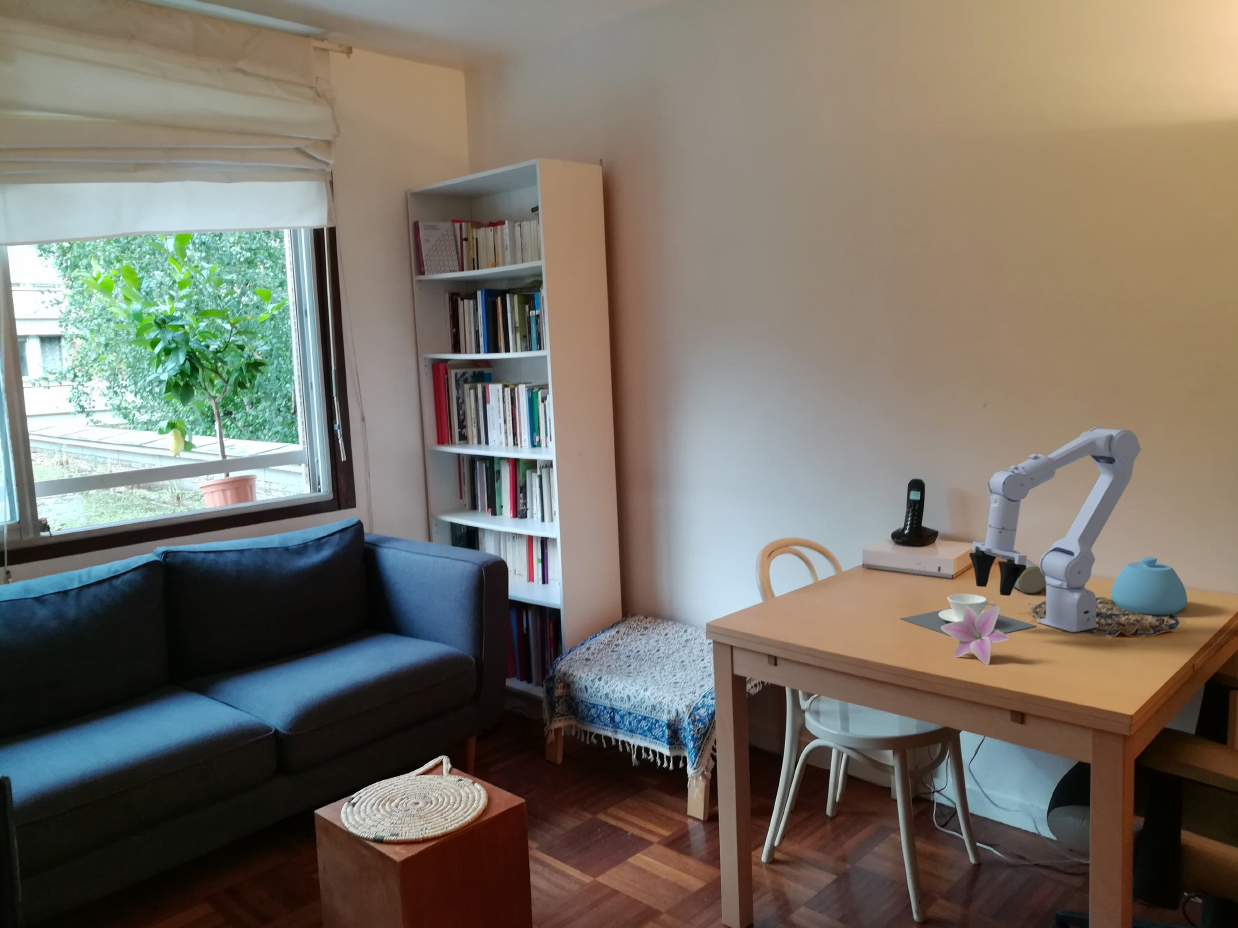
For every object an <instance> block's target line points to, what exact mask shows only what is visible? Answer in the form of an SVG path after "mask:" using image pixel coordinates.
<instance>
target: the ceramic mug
mask: <svg viewBox="0 0 1238 928" xmlns="http://www.w3.org/2000/svg"><path fill="white" fill-rule="evenodd" d="M1025 565H1026V569H1025V570H1024V571H1023V573H1022V574H1021V575H1020V577H1019V578H1018V580H1017V581H1016V583H1015V585H1014V588H1015V589H1017V590H1019V591H1021V592H1023V593H1026V594H1028V595H1029V594H1031V595H1032V594H1036V593H1039V592H1040V591H1042V590H1043V589H1045V590H1046V581H1045V576H1044V575H1043V574H1042V573H1041V571H1040V568H1039V565H1037V564H1035V563H1034V562H1032V561H1031V560H1030V559H1028V558H1026V564H1025Z"/></svg>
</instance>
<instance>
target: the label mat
mask: <svg viewBox="0 0 1238 928" xmlns="http://www.w3.org/2000/svg"><path fill="white" fill-rule="evenodd" d="M947 609H948V608H945V609H940V610H935V611H930V612H925V613H921V614H916V615H911V616H905V617H901V618H900V620H902V621H905V622H908V623H911V624H914V625H917V626H919V627H922V628H926V629H929V630H931V631H935V632H937V633H940V634H943V635H946V636H949V637H951V636H950V635H948V634H947V633H945V632H944V631H942V630H941V626H943V625H945V624H949V623H952V622H951V621H947V620H944V619H942V618H941V617H939V615H938V614H939V612H941V611H943V610H947ZM949 609H952V608H951V607H950V608H949ZM983 611H986V609H983ZM1035 627H1037V625H1035V624H1032V623H1029V622H1025V621H1022V620H1018V619H1014V618H1013V617H1008V616H1005V615H1001V614H998V617H997V620H996V623H995V626H994V629H997V630H999V631H1001V632H1002V633H1004V634H1005V635H1006V634H1008V633H1013V632H1018V631H1022V630H1026V629H1031V628H1032V629H1033V628H1035Z"/></svg>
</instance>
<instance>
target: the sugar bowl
mask: <svg viewBox="0 0 1238 928" xmlns="http://www.w3.org/2000/svg"><path fill="white" fill-rule="evenodd" d="M1110 593H1111V595H1110V597H1111V599H1112V601H1113V602H1114V603H1115V605H1116V606H1117V607H1118V608H1119V607H1120V608H1119V609H1121V608H1122V610H1123V609H1124V611H1126V610H1128V611H1127V612H1130V611H1132V612H1131V613H1134V612H1137V613H1136V614H1140V613H1144V614H1143V615H1149V614H1151V615H1153V616H1167V615H1174V614H1177V613H1179V612H1181V611H1182V610H1183V609H1184V608H1185V607H1186V606H1187V604H1188V596H1187V591H1186V589H1185V586H1184V584H1183V581H1182V579H1181V578H1180V577H1179V575H1178V574H1177V572H1176V571H1175V570H1174V568H1173V567H1172V566H1171V565H1168V564H1165V563H1161V562H1158V559H1157V558H1156V557H1151V556H1143V557H1142V558H1141V561H1135V562H1130V563H1128V564H1126V565H1125V566H1124V568H1123V569H1122V570H1121V571H1120V573H1119V574H1118V576H1117V577H1116V578H1115V581H1114V583H1113V585H1112V588H1111V592H1110ZM1151 615H1150V616H1151Z"/></svg>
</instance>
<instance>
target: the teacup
mask: <svg viewBox="0 0 1238 928" xmlns="http://www.w3.org/2000/svg"><path fill="white" fill-rule="evenodd" d="M947 601H948V604H949V605H950V608H952V609H950V608H946V609H947V610H945V609H942V610H943V611H941V612H939V614H938V615H939V617H941V618H942V619H944V620H947V621H951V622H958V621H963V613H964V608H965V606H968V607H970V608H971V609H972V610H973V611H974V612H975V613H976V614H977V616H978V615H979V614H980V613H982V612H984V611H983V610H984V609H985V608H986V606H991V608H992V607H995V606H996V602H993V601H992V602H991V601H988V599H987V598H986V597H985V596H982V595H979V594H972V593H957V594H956V593H955V594H951V595H949V596H947Z"/></svg>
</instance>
